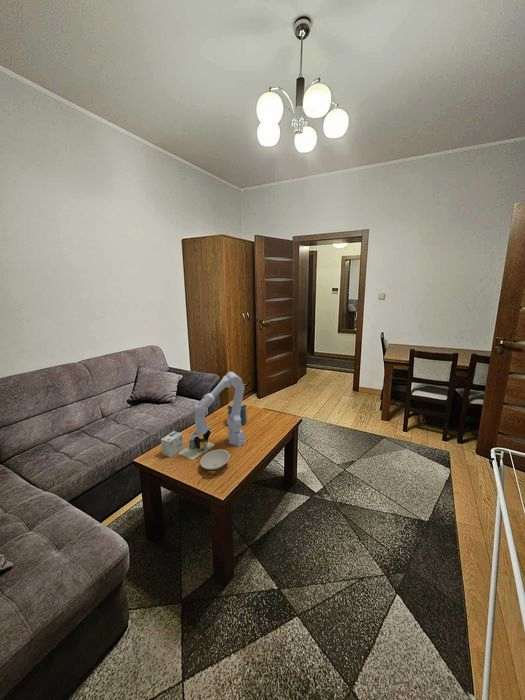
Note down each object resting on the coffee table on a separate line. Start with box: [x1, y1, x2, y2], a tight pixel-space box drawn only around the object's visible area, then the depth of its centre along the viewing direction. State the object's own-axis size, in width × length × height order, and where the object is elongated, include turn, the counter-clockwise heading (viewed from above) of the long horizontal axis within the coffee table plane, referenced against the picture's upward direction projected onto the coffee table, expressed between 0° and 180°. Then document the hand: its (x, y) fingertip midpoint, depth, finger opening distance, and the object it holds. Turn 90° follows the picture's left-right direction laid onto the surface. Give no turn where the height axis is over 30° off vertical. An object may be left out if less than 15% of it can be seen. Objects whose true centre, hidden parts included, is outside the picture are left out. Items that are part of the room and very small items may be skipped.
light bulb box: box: [160, 430, 184, 458], centre depth 167 cm, size 11×7×11 cm, turn 152°
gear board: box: [177, 440, 215, 460], centre depth 169 cm, size 13×18×5 cm
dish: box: [199, 449, 230, 471], centre depth 154 cm, size 18×14×5 cm
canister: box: [227, 399, 248, 426], centre depth 201 cm, size 13×13×18 cm
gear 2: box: [199, 437, 207, 449], centre depth 168 cm, size 6×6×4 cm
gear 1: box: [188, 439, 197, 449], centre depth 172 cm, size 6×6×4 cm
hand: (202, 445), depth 168 cm, fingers closed on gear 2, 6 cm apart
